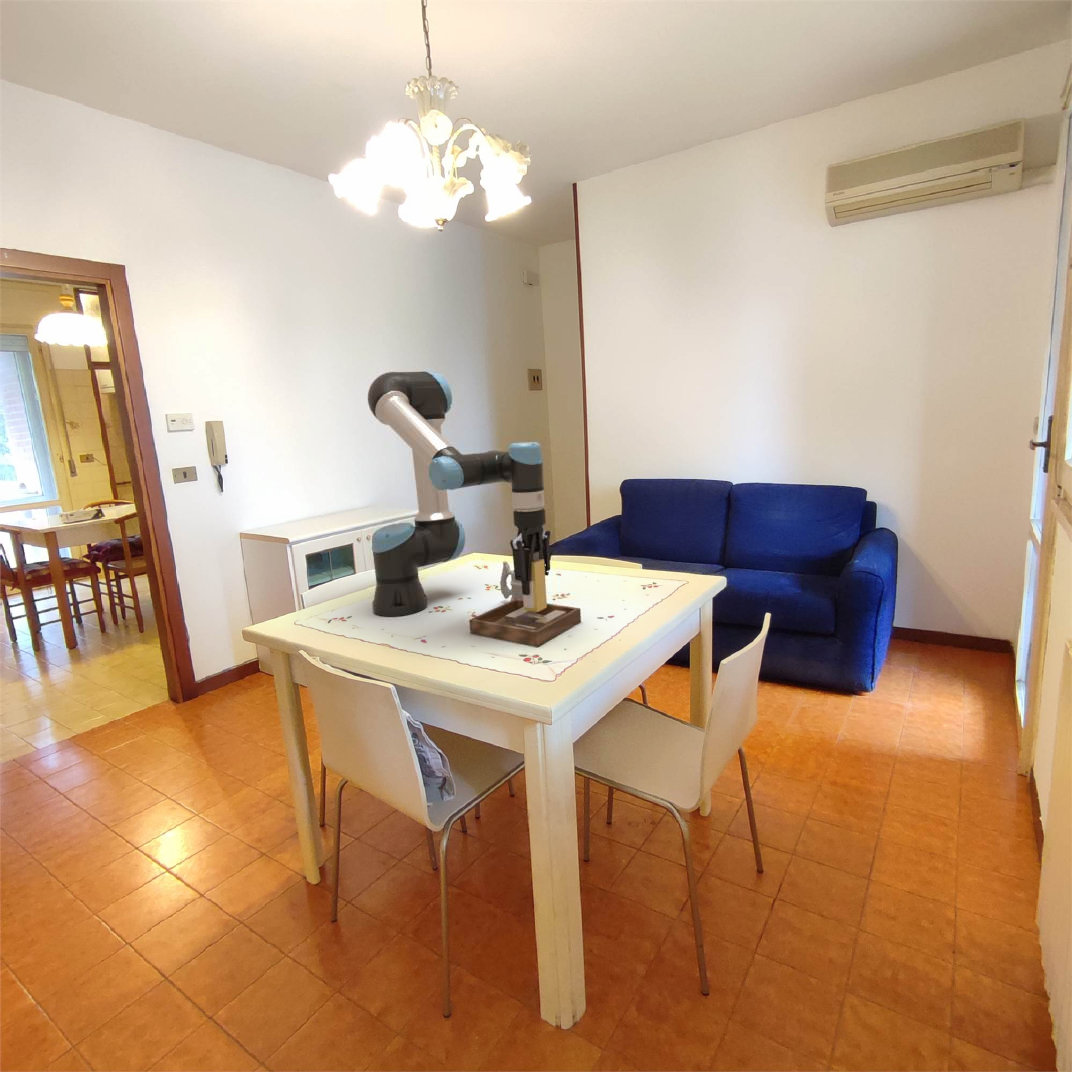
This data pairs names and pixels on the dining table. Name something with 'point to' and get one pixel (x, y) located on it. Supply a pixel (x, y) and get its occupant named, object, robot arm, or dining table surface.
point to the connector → (538, 583)
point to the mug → (515, 584)
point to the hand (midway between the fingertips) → (534, 604)
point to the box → (496, 628)
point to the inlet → (531, 618)
